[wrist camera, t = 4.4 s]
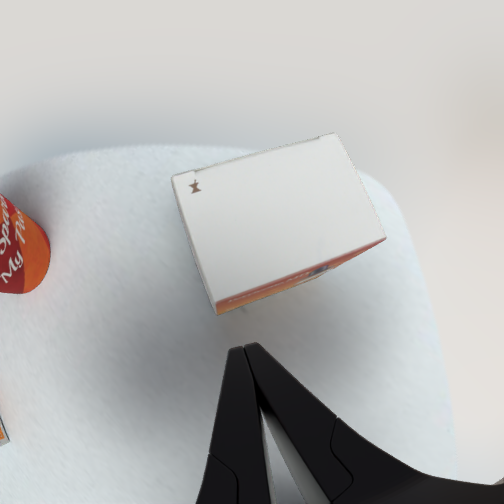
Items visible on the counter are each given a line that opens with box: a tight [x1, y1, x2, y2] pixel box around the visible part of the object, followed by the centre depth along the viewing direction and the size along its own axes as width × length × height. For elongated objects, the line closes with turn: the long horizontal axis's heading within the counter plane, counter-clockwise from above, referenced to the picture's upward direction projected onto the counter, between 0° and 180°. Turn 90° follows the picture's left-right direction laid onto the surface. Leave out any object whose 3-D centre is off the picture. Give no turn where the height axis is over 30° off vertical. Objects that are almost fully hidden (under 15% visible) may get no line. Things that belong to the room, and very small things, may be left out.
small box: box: [171, 133, 386, 315], centre depth 18 cm, size 8×6×10 cm
